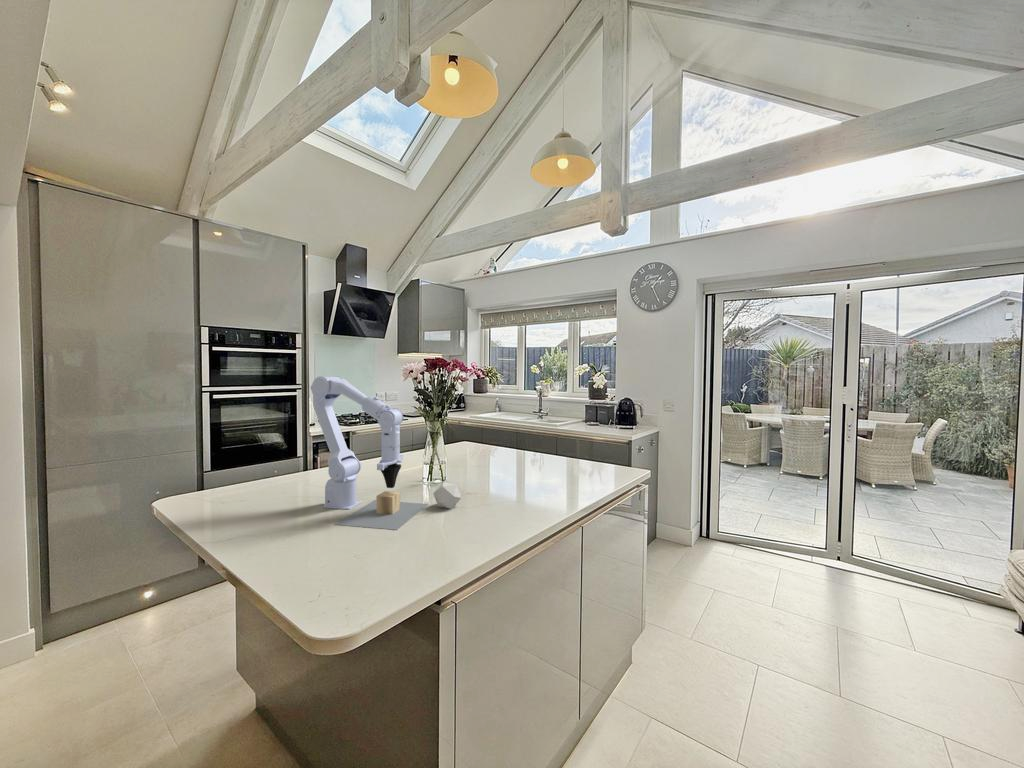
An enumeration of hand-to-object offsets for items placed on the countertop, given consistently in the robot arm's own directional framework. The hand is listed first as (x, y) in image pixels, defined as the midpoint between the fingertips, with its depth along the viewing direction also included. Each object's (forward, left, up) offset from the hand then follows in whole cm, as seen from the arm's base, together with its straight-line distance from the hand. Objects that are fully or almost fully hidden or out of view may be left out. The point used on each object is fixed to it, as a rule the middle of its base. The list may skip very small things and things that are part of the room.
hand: (390, 487), depth 138 cm
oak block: (0, +1, -4) cm, 5 cm away
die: (+17, +7, -8) cm, 20 cm away
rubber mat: (0, -4, -8) cm, 8 cm away
